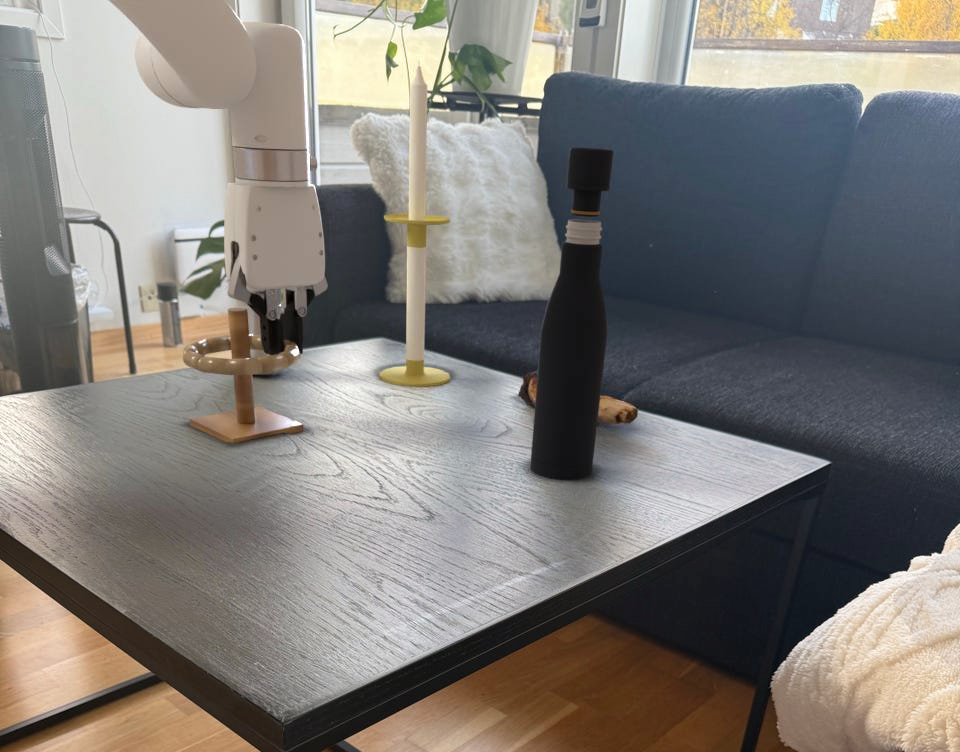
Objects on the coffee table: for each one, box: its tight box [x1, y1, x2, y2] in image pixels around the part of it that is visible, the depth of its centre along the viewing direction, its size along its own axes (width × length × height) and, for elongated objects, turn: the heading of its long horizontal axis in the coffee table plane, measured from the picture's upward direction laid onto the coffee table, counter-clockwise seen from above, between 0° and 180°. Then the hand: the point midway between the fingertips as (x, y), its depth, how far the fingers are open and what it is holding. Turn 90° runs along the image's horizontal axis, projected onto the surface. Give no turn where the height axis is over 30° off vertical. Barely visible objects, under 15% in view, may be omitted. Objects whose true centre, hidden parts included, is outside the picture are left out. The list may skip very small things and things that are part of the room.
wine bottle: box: [529, 147, 614, 481], centre depth 88 cm, size 6×6×30 cm
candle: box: [378, 60, 452, 387], centre depth 119 cm, size 10×10×38 cm
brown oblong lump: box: [517, 370, 639, 425], centre depth 113 cm, size 9×5×18 cm
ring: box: [182, 334, 301, 376], centre depth 99 cm, size 12×12×2 cm
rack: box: [189, 307, 304, 444], centre depth 100 cm, size 9×9×13 cm
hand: (283, 352), depth 102 cm, fingers closed on ring, 1 cm apart
